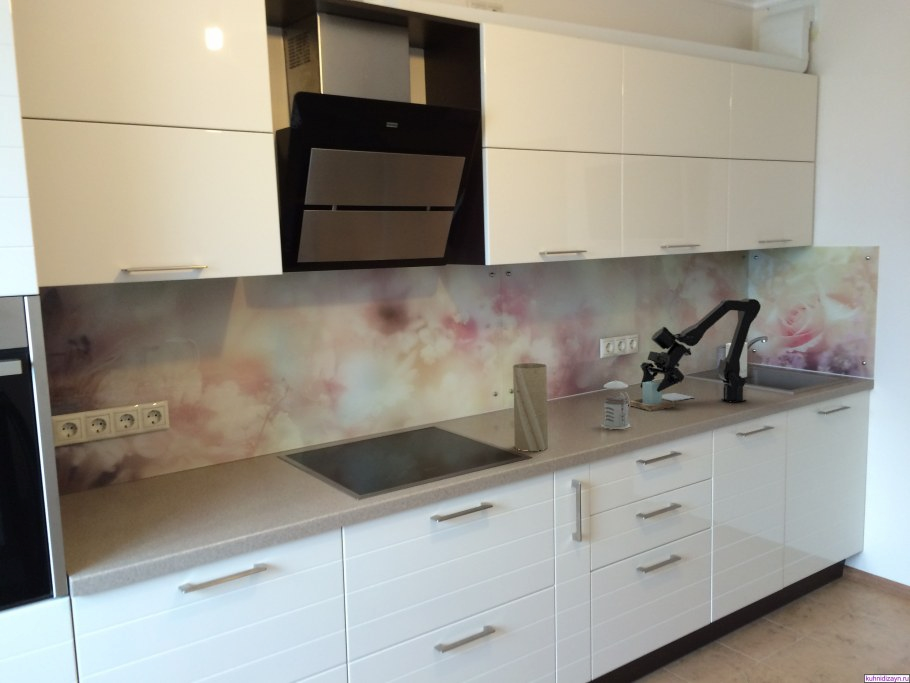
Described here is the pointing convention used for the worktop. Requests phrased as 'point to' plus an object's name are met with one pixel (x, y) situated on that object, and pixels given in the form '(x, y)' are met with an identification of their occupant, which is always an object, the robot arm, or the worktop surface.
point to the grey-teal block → (651, 393)
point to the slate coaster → (675, 397)
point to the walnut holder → (640, 404)
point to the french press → (616, 406)
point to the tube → (530, 406)
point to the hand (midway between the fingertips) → (649, 389)
